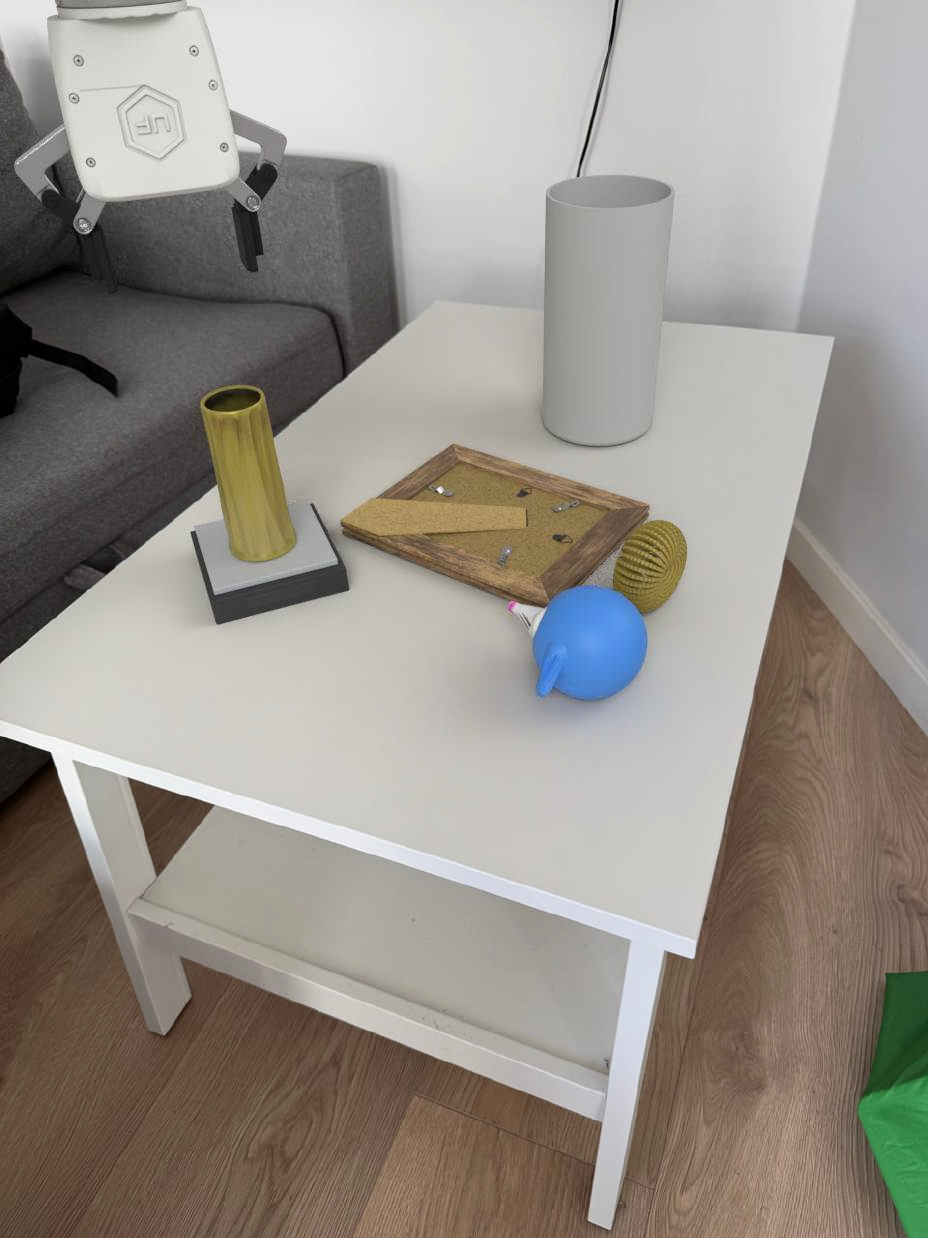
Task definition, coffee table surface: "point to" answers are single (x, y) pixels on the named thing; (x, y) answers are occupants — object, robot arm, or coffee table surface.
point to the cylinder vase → (604, 305)
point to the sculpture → (650, 564)
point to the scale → (269, 568)
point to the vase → (247, 473)
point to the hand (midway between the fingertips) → (182, 277)
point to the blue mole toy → (585, 641)
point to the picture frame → (497, 524)
